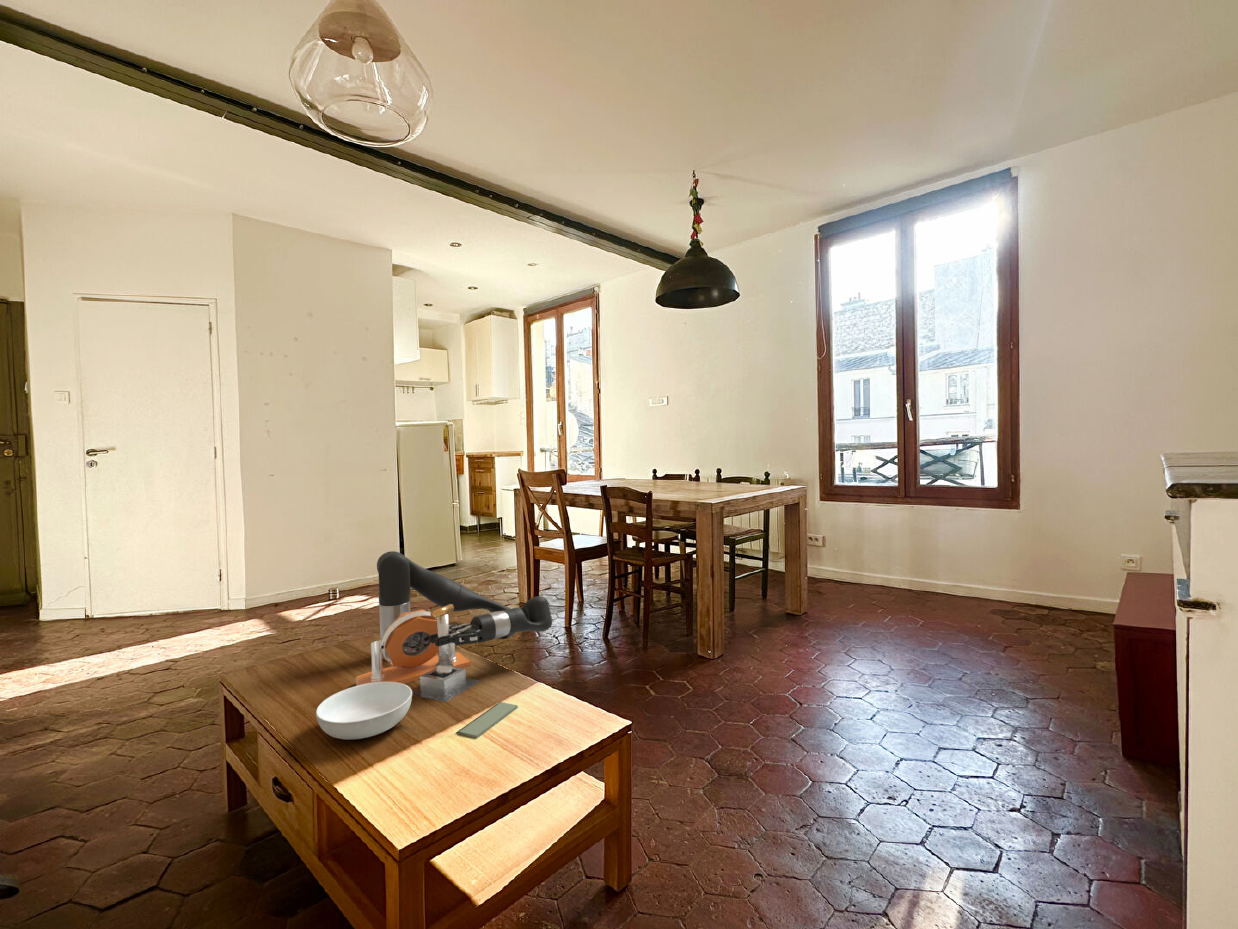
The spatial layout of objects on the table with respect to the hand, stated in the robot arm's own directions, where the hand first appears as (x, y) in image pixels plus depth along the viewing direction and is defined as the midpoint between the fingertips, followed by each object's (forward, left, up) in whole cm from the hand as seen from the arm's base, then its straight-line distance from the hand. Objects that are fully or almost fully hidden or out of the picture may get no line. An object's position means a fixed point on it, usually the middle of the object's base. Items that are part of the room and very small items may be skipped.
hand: (433, 640), depth 152 cm
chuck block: (-3, +1, -15) cm, 15 cm away
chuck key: (-3, +1, -10) cm, 10 cm away
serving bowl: (+20, -2, -15) cm, 25 cm away
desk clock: (-7, -14, -15) cm, 22 cm away
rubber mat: (+6, +18, -15) cm, 24 cm away
